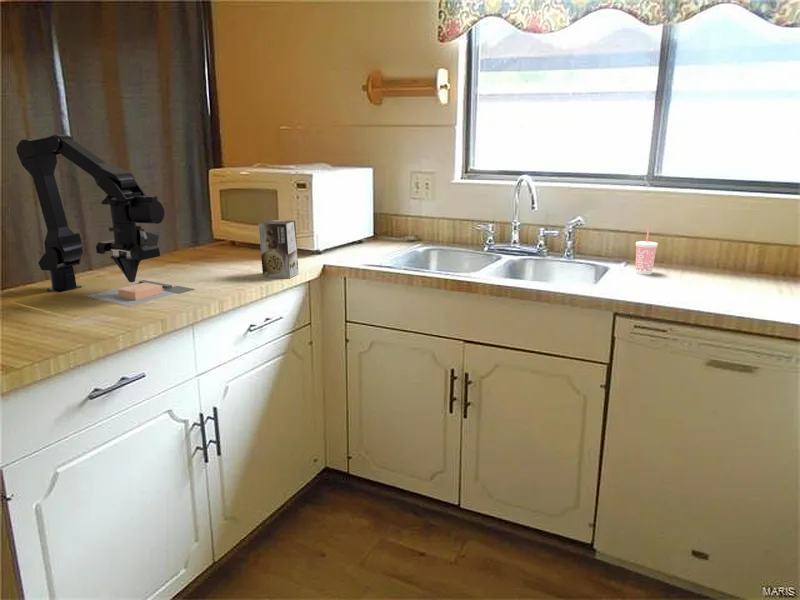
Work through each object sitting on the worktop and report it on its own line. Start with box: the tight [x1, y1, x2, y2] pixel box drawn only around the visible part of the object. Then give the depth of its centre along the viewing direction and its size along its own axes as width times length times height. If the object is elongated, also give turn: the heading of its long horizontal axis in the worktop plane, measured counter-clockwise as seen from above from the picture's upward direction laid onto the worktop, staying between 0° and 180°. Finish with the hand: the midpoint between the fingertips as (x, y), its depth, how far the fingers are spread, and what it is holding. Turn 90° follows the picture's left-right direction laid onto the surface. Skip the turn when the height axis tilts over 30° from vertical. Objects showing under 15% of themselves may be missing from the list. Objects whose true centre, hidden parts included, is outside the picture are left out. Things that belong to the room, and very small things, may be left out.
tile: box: [118, 283, 163, 300], centre depth 153 cm, size 2×8×7 cm
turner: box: [138, 279, 195, 295], centre depth 161 cm, size 19×5×1 cm, turn 59°
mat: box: [85, 282, 177, 307], centre depth 155 cm, size 18×16×1 cm
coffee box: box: [257, 219, 299, 279], centre depth 173 cm, size 9×6×16 cm
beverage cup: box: [634, 225, 659, 275], centre depth 174 cm, size 6×6×14 cm
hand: (132, 281), depth 154 cm, fingers closed
